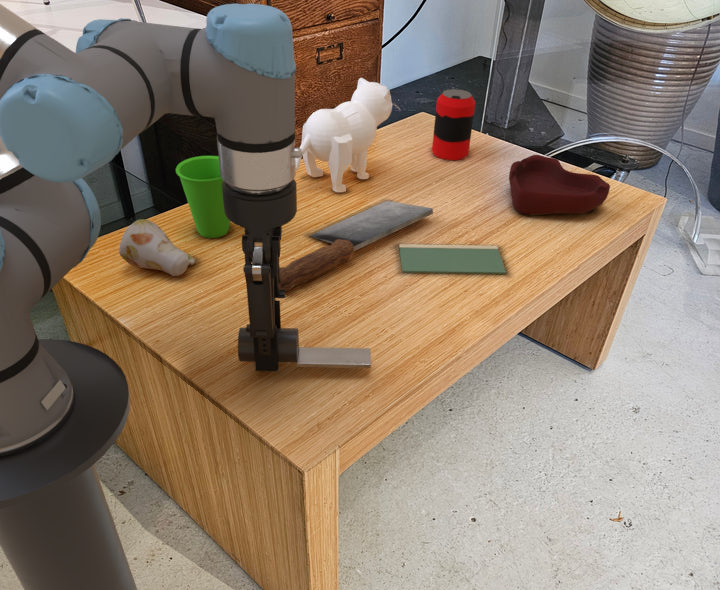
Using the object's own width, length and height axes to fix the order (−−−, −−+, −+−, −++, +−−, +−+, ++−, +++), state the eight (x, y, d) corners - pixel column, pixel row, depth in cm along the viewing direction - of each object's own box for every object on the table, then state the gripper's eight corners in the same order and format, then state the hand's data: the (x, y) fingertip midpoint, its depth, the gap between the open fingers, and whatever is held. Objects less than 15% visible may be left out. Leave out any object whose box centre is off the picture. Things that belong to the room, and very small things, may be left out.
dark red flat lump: (477, 197, 121) (481, 171, 118) (533, 175, 129) (538, 150, 126) (556, 236, 111) (562, 209, 108) (611, 209, 119) (619, 183, 116)
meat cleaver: (386, 200, 119) (387, 179, 117) (434, 222, 113) (436, 201, 111) (236, 270, 101) (234, 247, 98) (285, 301, 95) (283, 277, 92)
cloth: (402, 273, 101) (402, 270, 100) (398, 246, 107) (399, 243, 107) (505, 274, 101) (506, 271, 101) (496, 247, 107) (497, 245, 107)
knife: (239, 369, 80) (236, 341, 77) (243, 347, 83) (240, 320, 80) (370, 370, 81) (372, 344, 78) (369, 349, 84) (371, 322, 81)
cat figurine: (304, 209, 116) (301, 113, 105) (270, 188, 122) (264, 95, 111) (406, 172, 129) (413, 84, 118) (371, 155, 135) (375, 69, 124)
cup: (204, 250, 104) (195, 185, 97) (175, 228, 109) (164, 165, 102) (251, 232, 109) (246, 169, 102) (221, 212, 114) (214, 150, 107)
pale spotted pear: (178, 290, 96) (132, 235, 90) (144, 293, 102) (100, 242, 97) (209, 257, 99) (167, 203, 94) (174, 262, 106) (133, 211, 101)
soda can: (429, 158, 134) (435, 98, 126) (433, 144, 140) (439, 86, 132) (467, 162, 133) (475, 102, 125) (469, 148, 139) (477, 89, 131)
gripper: (291, 221, 60) (295, 405, 75) (300, 146, 73) (302, 315, 88) (208, 219, 60) (229, 404, 75) (232, 143, 73) (246, 314, 88)
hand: (268, 356), depth 81 cm, fingers closed on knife, 4 cm apart
